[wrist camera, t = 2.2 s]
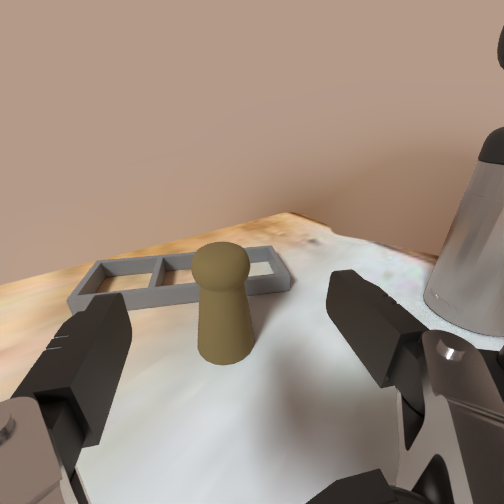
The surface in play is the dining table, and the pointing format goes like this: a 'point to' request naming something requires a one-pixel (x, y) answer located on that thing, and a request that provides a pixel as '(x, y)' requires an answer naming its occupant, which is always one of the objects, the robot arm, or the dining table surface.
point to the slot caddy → (171, 293)
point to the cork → (223, 303)
